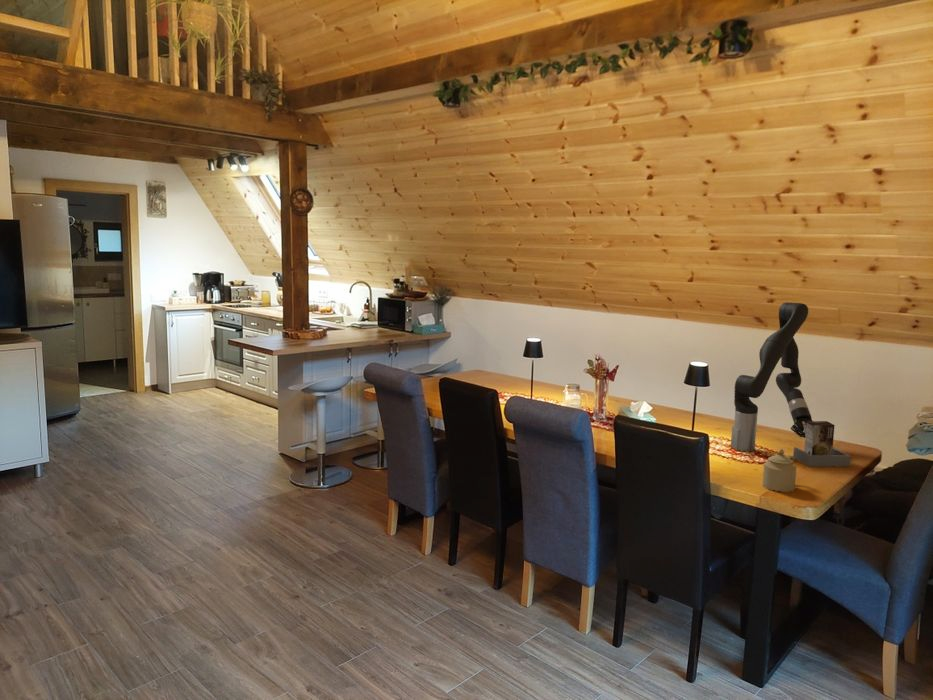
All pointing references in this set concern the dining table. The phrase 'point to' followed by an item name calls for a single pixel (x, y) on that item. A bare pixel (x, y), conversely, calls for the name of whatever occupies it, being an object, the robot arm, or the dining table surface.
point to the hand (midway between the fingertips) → (811, 445)
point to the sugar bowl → (779, 473)
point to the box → (823, 458)
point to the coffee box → (819, 438)
